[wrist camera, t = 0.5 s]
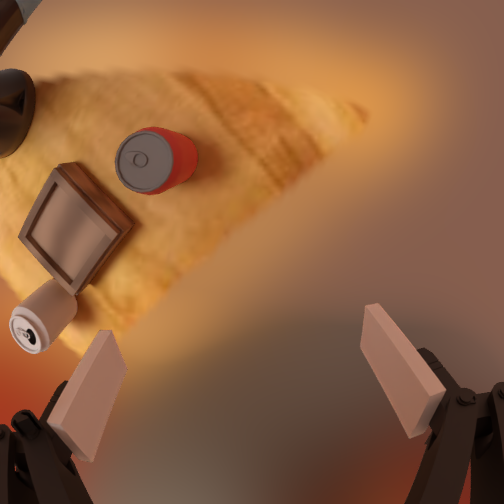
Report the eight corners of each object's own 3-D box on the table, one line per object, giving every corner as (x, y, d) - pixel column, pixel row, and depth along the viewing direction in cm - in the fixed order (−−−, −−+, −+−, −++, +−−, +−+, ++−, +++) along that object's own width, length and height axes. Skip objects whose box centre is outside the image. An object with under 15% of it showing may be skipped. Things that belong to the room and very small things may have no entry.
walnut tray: (35, 227, 36) (15, 237, 31) (74, 162, 34) (54, 164, 29) (88, 284, 39) (73, 299, 35) (135, 223, 37) (120, 233, 32)
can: (79, 323, 42) (46, 366, 30) (45, 307, 41) (8, 344, 29) (81, 286, 40) (42, 326, 28) (45, 270, 39) (2, 303, 27)
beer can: (159, 126, 33) (124, 115, 22) (206, 143, 34) (190, 138, 23) (141, 174, 35) (100, 184, 24) (187, 191, 36) (163, 209, 25)
